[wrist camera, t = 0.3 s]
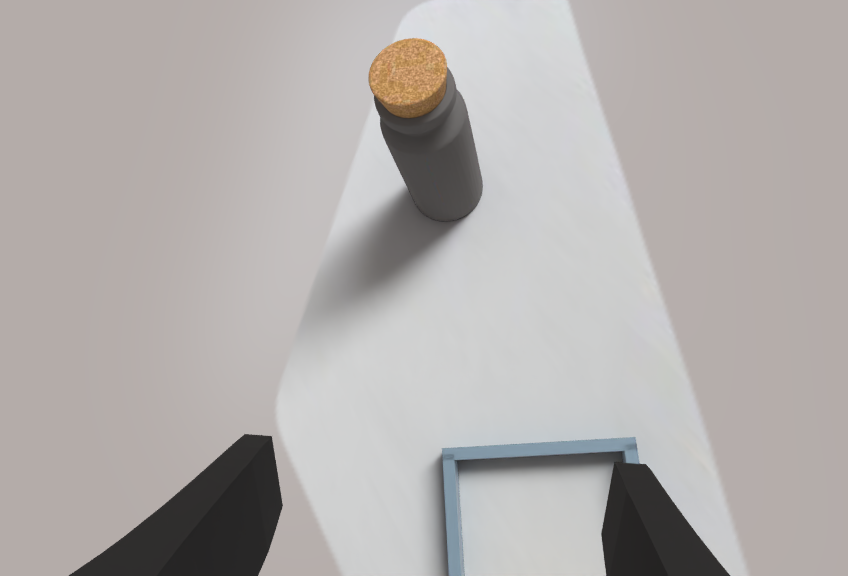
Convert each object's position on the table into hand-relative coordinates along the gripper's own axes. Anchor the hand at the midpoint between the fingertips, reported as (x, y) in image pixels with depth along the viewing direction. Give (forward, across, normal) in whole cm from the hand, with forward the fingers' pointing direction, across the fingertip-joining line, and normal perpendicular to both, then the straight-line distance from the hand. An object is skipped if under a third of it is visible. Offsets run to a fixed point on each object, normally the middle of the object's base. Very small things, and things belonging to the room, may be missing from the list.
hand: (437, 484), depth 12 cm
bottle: (+37, +3, +5) cm, 38 cm away
